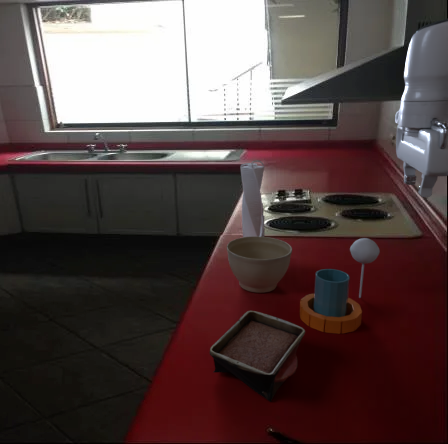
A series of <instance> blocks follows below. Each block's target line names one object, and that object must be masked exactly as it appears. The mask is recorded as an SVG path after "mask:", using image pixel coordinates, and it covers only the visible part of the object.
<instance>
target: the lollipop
mask: <svg viewBox="0 0 448 444" xmlns="http://www.w3.org/2000/svg"><path fill="white" fill-rule="evenodd" d="M349 252H350V254H351V255H350V256H352V258H353V259H354V260H355V261H356V262H357V263H360V264H361V273H360V281H359V282H360V283H359V291H358V292H359V293H358V298H359V299H361V298H362V292H363V283H364V282H363V281H364V273H365V272H364V271H365V264H371V263H373V262H374V261H376V260H377V258H378V257H379V255H380V253H381V252H380V248H379V246H378V244H377V242H376V241H374V240H372V239H370V238H367V237H362V238H359V239H356V240H354V242H353V243H352V244H351V245H350V248H349Z"/></svg>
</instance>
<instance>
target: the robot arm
mask: <svg viewBox="0 0 448 444" xmlns="http://www.w3.org/2000/svg"><path fill="white" fill-rule="evenodd" d="M407 48H408V49H407V53H406V59H405V65H404V71H403V80H404V91H403V93H402V96H401V99H400V107H399V109H398V111H396V113H395V116H394V122H395V124H397V127H396V139H395V140H396V141H395V152H396V153H395V154H396V157H397V159H399V160H400V161H402V162H403V163H402V164H403V165H402V167H403V174H404V176H403V184H405V185H407V186H414V185H416V183H417V181H416V180H417V175H416V174H417V173H416V171H418V172H420V173H421V183H420V185H419V186H418V191H417V193H418V195H419V196H420V197H422V198H430V197H432V194H433V190H434V189H433V188H434V187H435V185H436V182H437V181H438V177H447V176H448V18H444V19H441V20H437V21H434V22H431V23H428V24H425V25H423V26H421V27H420V28H418V29H417V30H416V31H415V32H414V33H413V35H412V36H411V39H410V42H409V43H408V47H407Z"/></svg>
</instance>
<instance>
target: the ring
mask: <svg viewBox="0 0 448 444" xmlns="http://www.w3.org/2000/svg"><path fill="white" fill-rule="evenodd" d="M313 304H314V293H309V294H306V295H305V296H304V297H302V298H301V299H300V300H299V318H300V320H301V321H302V322H303V323H304V324H305V325H306V326H307V327H309V328H311V329H314V330H317V331H319V332H322V333H327V334H337V335H340V334H341V335H342V334H346V333H351V332H352V333H353V332H355V331H356V330H357V329H358V328H359V327H360V326H361V325H362V317H363V310H362V308H361V304H359V303H358V302H357V301H356V300H354V299H352V298H350V297H348V303H347V314H346V316H343V317H329V316H324V315H321V314H318V313H315V312H314V311H313Z"/></svg>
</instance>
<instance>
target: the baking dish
mask: <svg viewBox="0 0 448 444" xmlns="http://www.w3.org/2000/svg"><path fill="white" fill-rule="evenodd" d="M305 334H306V330H305V328H303V327H302V326H299V325H298V324H295V323H293V322H291V321H288V320H285V319H282V318H279V317H276V316H273V315H270V314H267V313H263V312H260V311H255V310H247V311H246V312H244V314H242V315H241V316H240V318H239V319H238V320H237V321H236V322H235V323H234V324H233V325H232V326H231V327H230V328H229V329H228V330H227V331H226V332H225V333H224V334H223V335H221V336H220V337H219V339H218V340H217V341H215V342H214V343H213V344H212V345H211V346H210V347H209V355H210V356H211V357H212V359H213V364H214V370H213V372H212V373H230V374H232V375H233V376H235V378H237V379H238V380H240V381H241V382H242V383H244V384H245V385H246V386H247V387H249V388H250V389H251V390H252V391H254V392H255V393H257V394H258V395H260V396H261V397H263V398H264V399H265V400H266V401H268V402H270V403H272V402H273V401H272V400H273V398H274V396H275V395H276V393H277V391H278V390H279V389H280V387H282V386H283V384H284V383H285V381H286V380H287V379H288V378H291V376H293V375H295V374H296V372H297V368H298V367H299V365H298V356H297V351H298V348H299V346H300V344H301V342H302V340H303V337H304V336H305Z"/></svg>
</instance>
